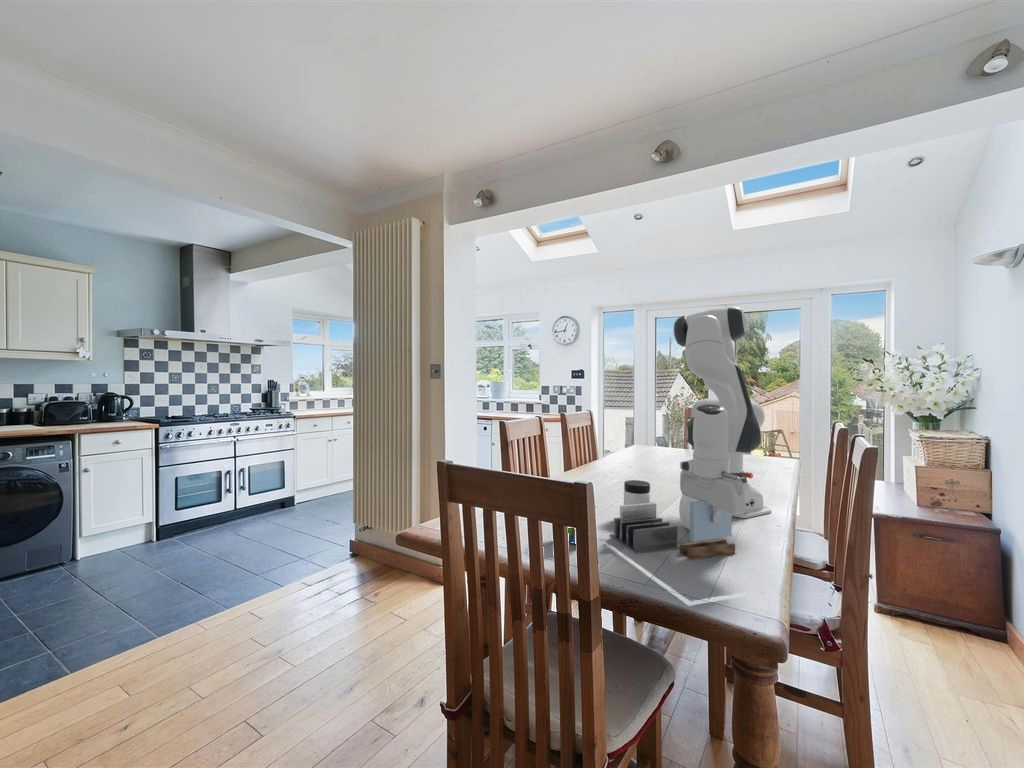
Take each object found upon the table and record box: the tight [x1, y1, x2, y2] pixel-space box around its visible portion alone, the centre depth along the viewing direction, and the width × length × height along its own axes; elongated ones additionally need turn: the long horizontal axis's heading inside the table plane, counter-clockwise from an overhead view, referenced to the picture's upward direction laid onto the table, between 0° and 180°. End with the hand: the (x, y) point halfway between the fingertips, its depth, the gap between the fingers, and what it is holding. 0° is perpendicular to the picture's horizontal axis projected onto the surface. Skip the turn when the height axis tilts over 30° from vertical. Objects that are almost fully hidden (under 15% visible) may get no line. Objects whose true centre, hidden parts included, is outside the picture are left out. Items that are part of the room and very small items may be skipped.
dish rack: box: [609, 502, 680, 554], centre depth 129 cm, size 14×14×10 cm
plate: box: [689, 500, 733, 542], centre depth 121 cm, size 12×1×10 cm, turn 108°
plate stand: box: [678, 538, 737, 561], centre depth 121 cm, size 14×5×3 cm, turn 107°
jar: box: [623, 479, 651, 505], centre depth 151 cm, size 9×8×12 cm
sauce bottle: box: [678, 493, 699, 531], centre depth 139 cm, size 8×8×18 cm
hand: (711, 520), depth 121 cm, fingers closed on plate, 1 cm apart
